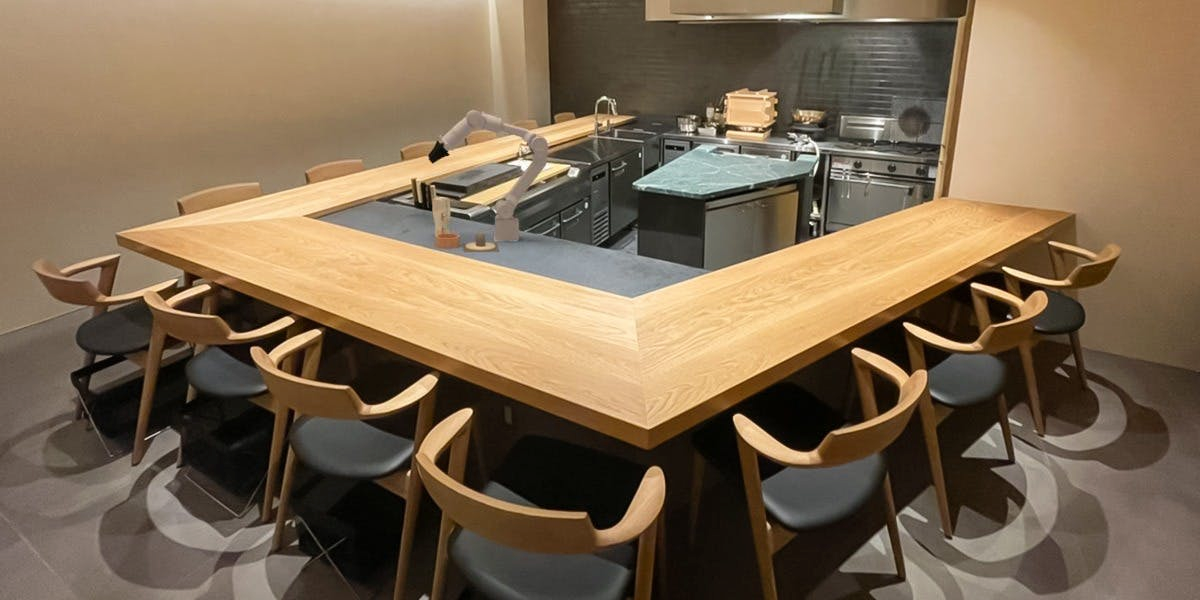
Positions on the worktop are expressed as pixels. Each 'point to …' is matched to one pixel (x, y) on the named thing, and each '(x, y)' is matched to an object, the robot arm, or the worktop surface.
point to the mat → (480, 251)
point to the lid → (480, 244)
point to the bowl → (447, 240)
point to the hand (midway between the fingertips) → (430, 160)
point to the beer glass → (441, 214)
